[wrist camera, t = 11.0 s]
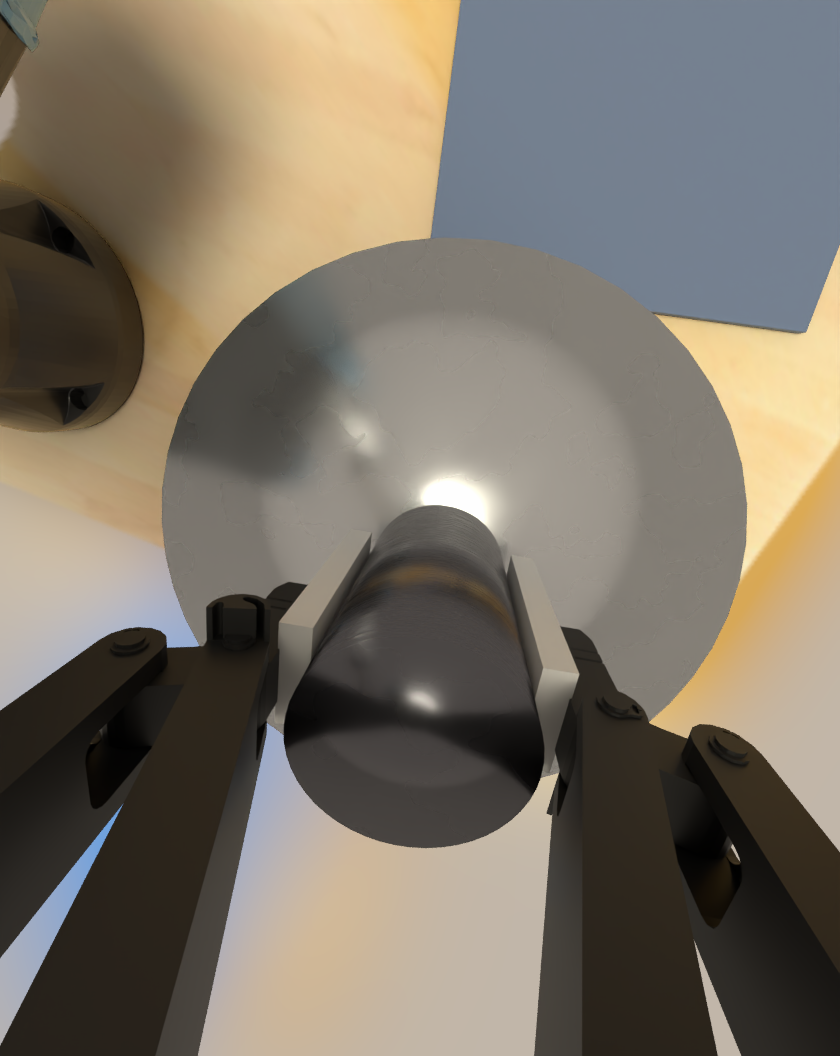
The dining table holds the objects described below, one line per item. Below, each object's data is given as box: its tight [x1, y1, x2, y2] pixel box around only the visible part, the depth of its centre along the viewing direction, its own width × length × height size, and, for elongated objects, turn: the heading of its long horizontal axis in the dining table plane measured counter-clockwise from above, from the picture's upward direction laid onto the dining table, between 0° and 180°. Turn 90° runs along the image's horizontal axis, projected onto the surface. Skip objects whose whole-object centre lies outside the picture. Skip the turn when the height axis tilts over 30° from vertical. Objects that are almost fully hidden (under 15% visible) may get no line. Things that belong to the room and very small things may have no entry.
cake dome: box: [162, 237, 747, 848], centre depth 19 cm, size 22×22×23 cm
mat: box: [431, 0, 840, 333], centre depth 24 cm, size 23×23×1 cm
